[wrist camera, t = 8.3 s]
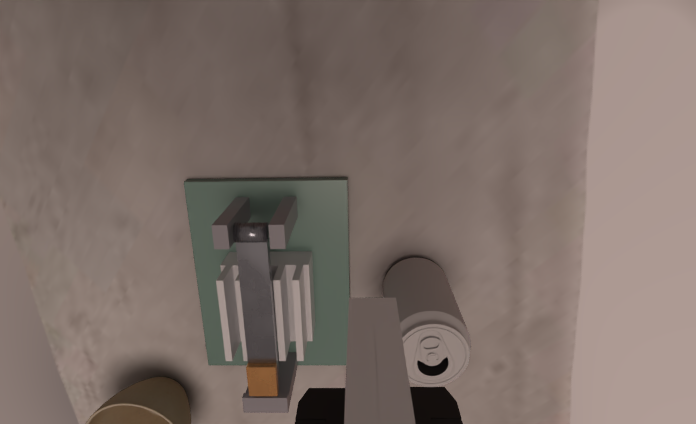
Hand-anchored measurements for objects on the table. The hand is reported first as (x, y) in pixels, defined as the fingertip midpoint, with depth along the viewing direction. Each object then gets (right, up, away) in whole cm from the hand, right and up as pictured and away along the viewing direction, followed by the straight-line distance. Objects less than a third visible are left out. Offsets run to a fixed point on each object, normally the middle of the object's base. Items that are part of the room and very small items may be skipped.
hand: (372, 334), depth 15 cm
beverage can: (+6, -3, +31) cm, 32 cm away
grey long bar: (-8, -4, +25) cm, 26 cm away
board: (-8, -2, +31) cm, 32 cm away
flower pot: (-21, -16, +36) cm, 45 cm away
